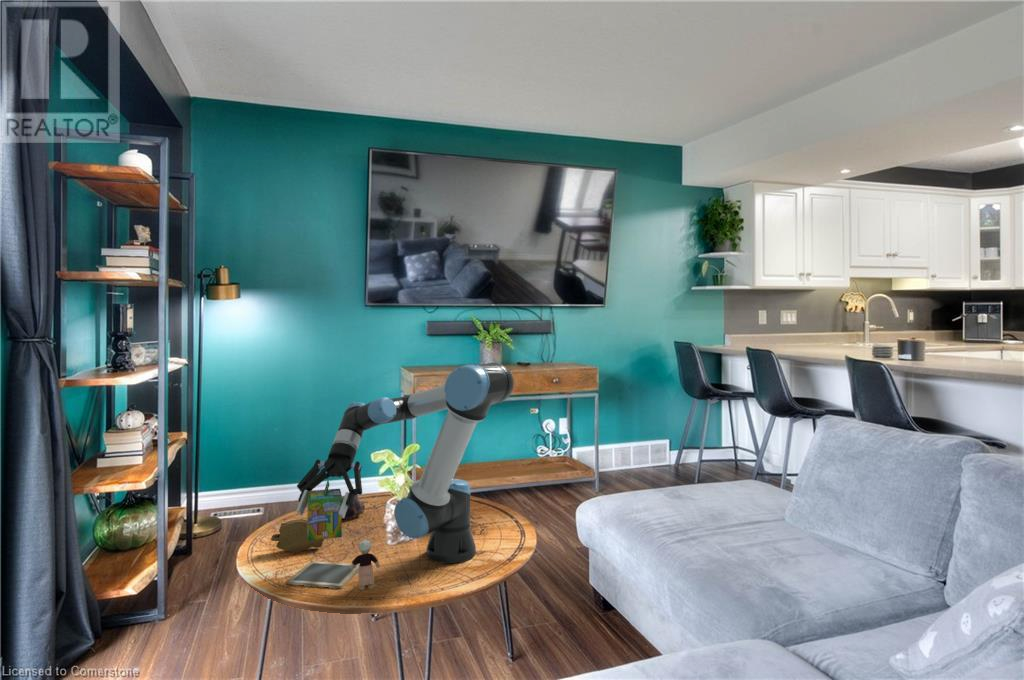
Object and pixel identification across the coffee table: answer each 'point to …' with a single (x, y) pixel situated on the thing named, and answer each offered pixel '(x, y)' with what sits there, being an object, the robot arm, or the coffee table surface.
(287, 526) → the wooden carving
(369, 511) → the coffee table surface
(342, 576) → the chalkboard
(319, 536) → the chalk box
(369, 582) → the grandmother figurine
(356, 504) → the rock
